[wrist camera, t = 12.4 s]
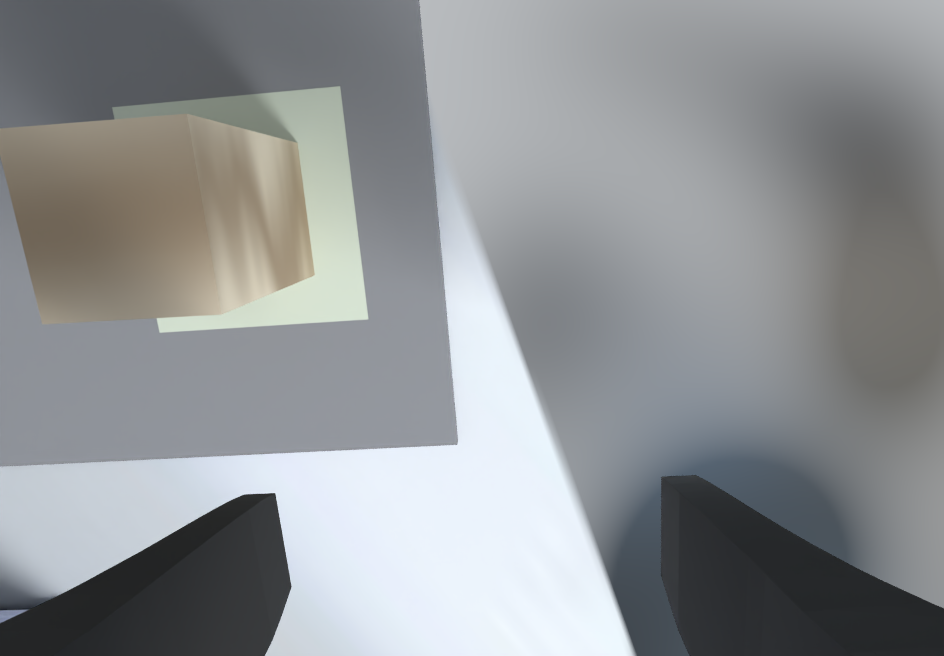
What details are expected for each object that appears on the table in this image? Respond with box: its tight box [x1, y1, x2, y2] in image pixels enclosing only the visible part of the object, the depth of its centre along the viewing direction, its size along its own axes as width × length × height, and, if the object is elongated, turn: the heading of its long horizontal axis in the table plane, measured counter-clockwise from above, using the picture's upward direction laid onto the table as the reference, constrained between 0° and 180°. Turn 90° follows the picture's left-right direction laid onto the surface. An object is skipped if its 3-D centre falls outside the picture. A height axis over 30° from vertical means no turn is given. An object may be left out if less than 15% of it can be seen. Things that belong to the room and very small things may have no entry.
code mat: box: [0, 0, 458, 467], centre depth 18 cm, size 16×24×1 cm, turn 94°
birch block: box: [0, 114, 315, 324], centre depth 14 cm, size 4×4×6 cm
